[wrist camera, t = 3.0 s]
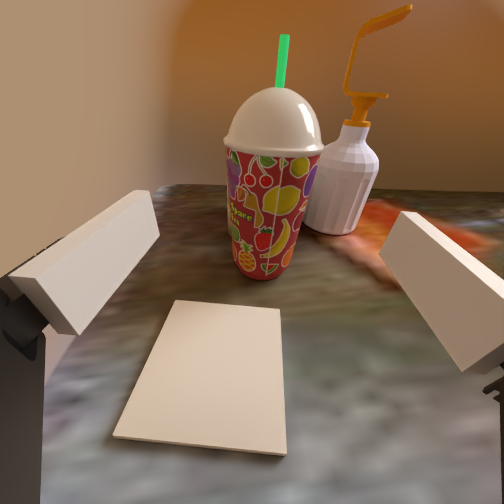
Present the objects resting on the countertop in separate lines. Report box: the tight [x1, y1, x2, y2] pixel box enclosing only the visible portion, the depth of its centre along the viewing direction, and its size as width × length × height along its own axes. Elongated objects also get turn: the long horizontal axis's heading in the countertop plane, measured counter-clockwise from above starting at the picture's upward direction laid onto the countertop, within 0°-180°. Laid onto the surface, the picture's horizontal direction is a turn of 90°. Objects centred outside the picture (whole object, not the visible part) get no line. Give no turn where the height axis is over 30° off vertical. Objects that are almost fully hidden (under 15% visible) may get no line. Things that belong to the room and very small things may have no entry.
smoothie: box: [224, 34, 325, 280], centre depth 20 cm, size 8×8×20 cm
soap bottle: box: [302, 4, 412, 235], centre depth 29 cm, size 9×9×25 cm
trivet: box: [112, 300, 287, 456], centre depth 16 cm, size 10×10×1 cm
